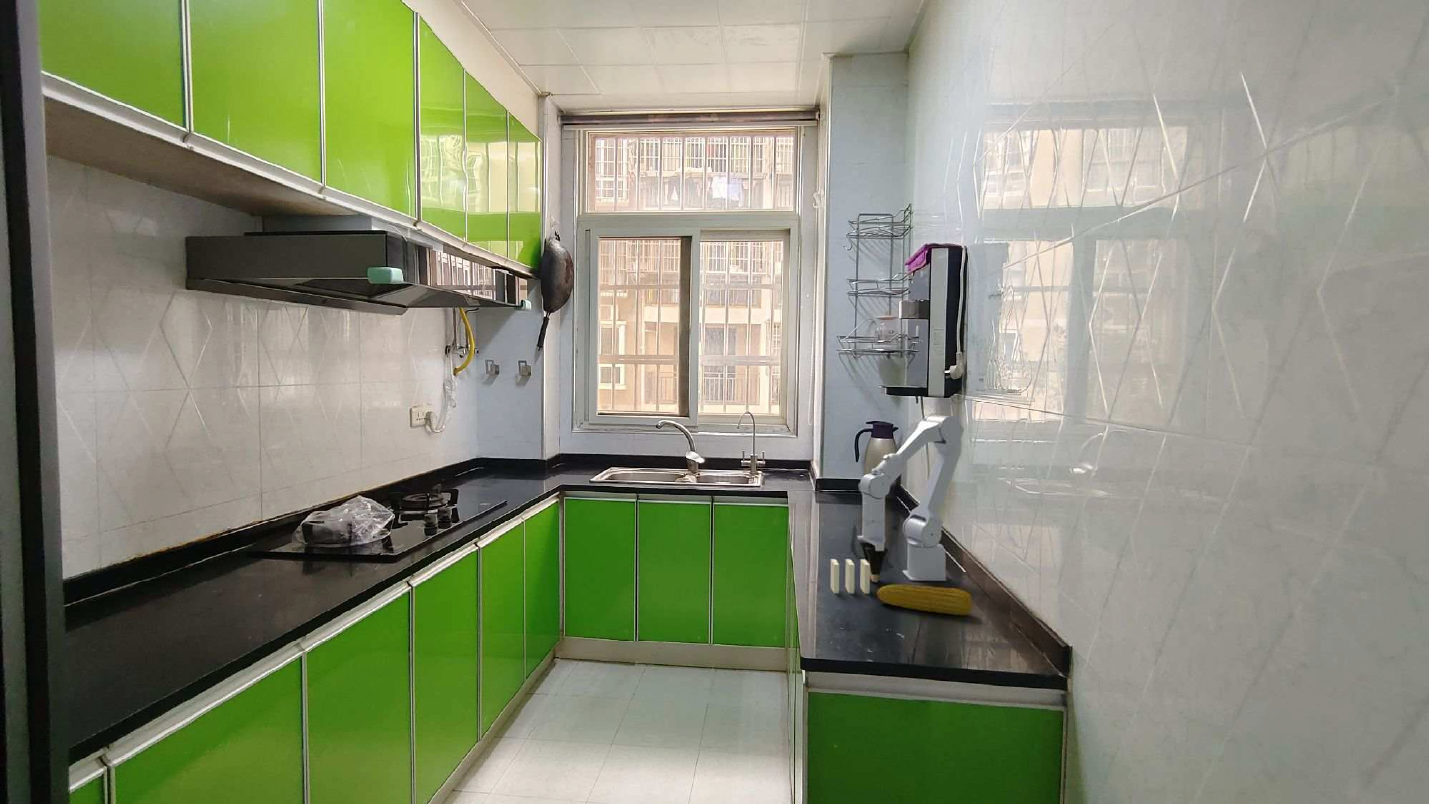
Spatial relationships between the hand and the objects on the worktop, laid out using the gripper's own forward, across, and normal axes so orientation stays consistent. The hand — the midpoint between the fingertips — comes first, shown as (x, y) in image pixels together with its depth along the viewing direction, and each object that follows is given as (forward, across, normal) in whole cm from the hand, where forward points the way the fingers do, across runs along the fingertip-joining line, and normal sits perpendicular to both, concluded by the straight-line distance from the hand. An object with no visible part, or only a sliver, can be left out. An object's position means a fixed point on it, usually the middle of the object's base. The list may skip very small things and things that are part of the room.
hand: (873, 571), depth 176 cm
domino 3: (+3, +8, -4) cm, 9 cm away
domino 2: (+3, +8, -8) cm, 11 cm away
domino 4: (+2, 0, 0) cm, 2 cm away
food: (+3, +22, +7) cm, 23 cm away
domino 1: (+3, +8, -12) cm, 14 cm away
